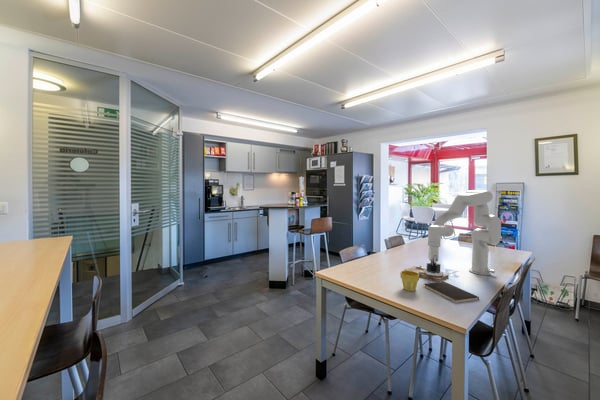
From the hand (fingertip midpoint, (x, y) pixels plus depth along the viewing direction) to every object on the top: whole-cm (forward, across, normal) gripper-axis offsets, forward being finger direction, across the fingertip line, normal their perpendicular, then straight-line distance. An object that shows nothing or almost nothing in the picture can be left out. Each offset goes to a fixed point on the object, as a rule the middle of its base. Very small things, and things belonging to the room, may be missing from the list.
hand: (433, 270), depth 172 cm
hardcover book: (+5, +26, +5) cm, 27 cm away
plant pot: (+5, +28, -17) cm, 33 cm away
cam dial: (+2, 0, -1) cm, 3 cm away
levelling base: (+5, -3, -4) cm, 7 cm away
